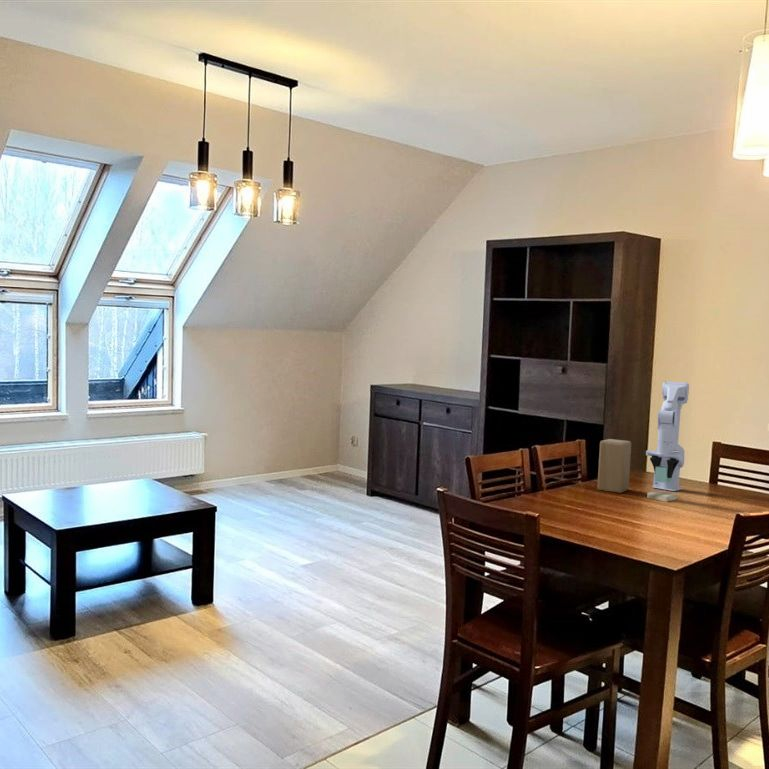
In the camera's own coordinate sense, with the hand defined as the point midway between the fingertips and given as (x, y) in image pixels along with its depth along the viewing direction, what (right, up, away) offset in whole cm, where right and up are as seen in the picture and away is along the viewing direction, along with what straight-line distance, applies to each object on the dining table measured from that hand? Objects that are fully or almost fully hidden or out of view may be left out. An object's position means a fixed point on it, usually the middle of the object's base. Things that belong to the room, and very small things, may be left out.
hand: (663, 476), depth 295 cm
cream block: (0, -9, +1) cm, 8 cm away
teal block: (0, -2, 0) cm, 2 cm away
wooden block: (-15, -7, +14) cm, 22 cm away
